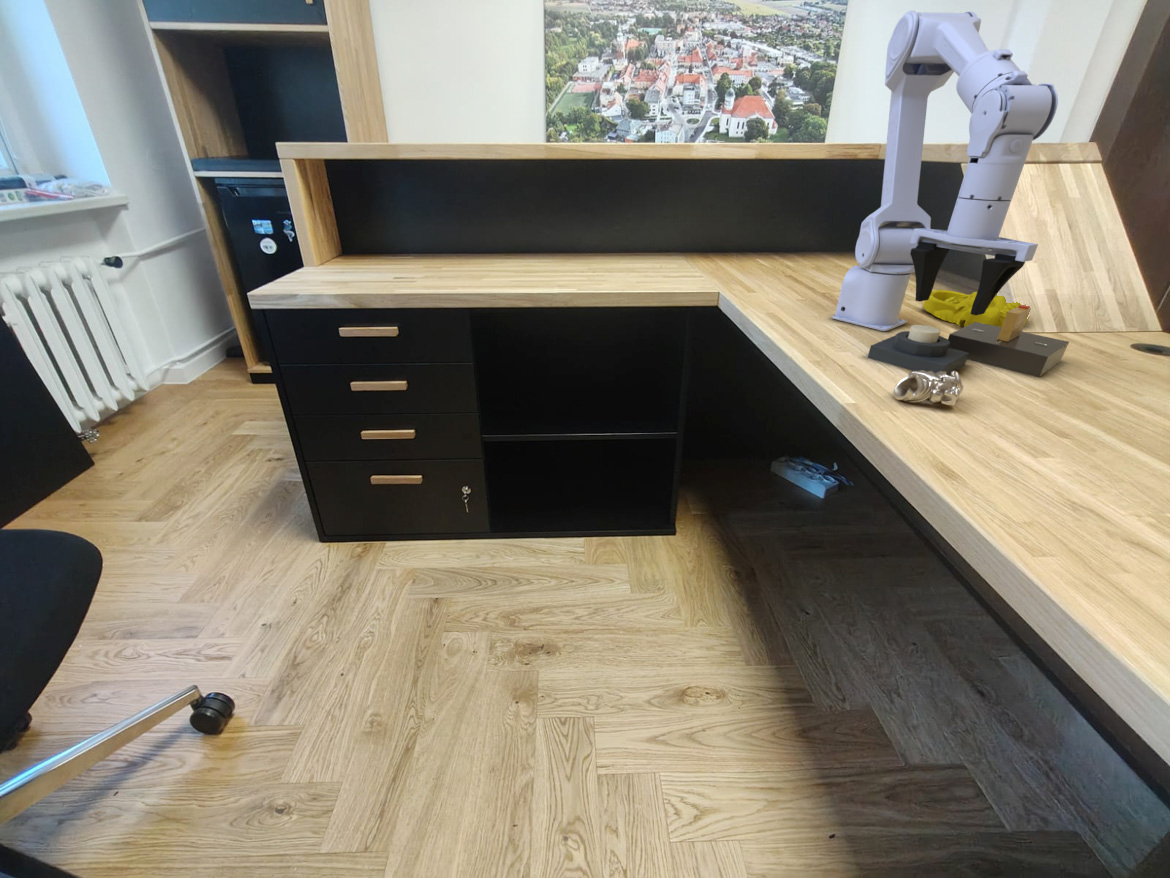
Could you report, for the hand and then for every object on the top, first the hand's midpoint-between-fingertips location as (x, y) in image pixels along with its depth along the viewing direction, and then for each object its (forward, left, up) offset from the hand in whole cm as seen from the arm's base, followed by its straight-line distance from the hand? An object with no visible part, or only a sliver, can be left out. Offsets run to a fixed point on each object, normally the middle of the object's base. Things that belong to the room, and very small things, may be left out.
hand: (948, 306), depth 76 cm
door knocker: (-5, +31, -8) cm, 32 cm away
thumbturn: (+6, +10, -5) cm, 12 cm away
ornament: (+6, -15, -8) cm, 18 cm away
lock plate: (+6, +10, -8) cm, 14 cm away
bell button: (-1, -2, -5) cm, 5 cm away
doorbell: (-1, -2, -8) cm, 8 cm away
